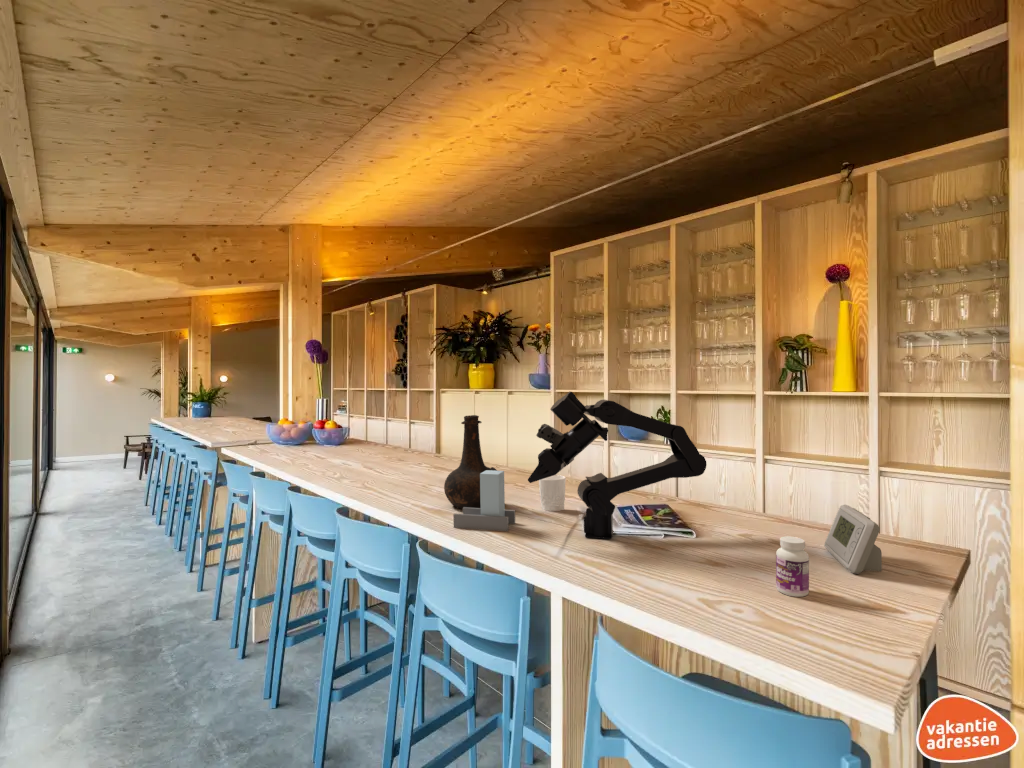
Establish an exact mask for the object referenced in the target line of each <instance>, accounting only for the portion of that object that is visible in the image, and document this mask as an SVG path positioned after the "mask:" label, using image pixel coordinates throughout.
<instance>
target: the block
mask: <svg viewBox="0 0 1024 768" xmlns="http://www.w3.org/2000/svg"><path fill="white" fill-rule="evenodd" d="M505 493H506V492H505V470H497V471H495V470H486V471H484V472H482V473H480V505H481V515H489V516H505V510H506V507H505V506H506V504H505V503H506V502H505V501H506V497H505V496H506V495H505Z"/></svg>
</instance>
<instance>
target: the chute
mask: <svg viewBox="0 0 1024 768" xmlns="http://www.w3.org/2000/svg"><path fill="white" fill-rule="evenodd" d="M510 524H511V525H515V524H516V509H505V516H489V515H481V508H470V507H464V508H463V509H462V513H453V529H470V530H482V531H495V532H497V531H498V532H508V531H509V525H510Z"/></svg>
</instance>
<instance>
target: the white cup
mask: <svg viewBox="0 0 1024 768" xmlns="http://www.w3.org/2000/svg"><path fill="white" fill-rule="evenodd" d="M566 478H567V477H566V476H564V475H561V474H556V475H554V476H550V477H547V478H544V479H541V480H538V488H539V501H540V509H541V510H542V511H545V512H559V511H564V510H565V500H566V483H567V482H566Z"/></svg>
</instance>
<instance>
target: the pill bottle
mask: <svg viewBox="0 0 1024 768" xmlns="http://www.w3.org/2000/svg"><path fill="white" fill-rule="evenodd" d="M779 545H780V547H779V548H778V549H777V550H776V552H775V588H776V589H777V591H778V592H779V593H781V594H783V595H786V596H789V597H793V598H802V597H806V596H808V595H809V592H810V556H809V554H808V552H807V551H805V548H806V541H805V540H804V539H803V538H800V537H796V536H790V535H786V536H781V537H780V538H779Z"/></svg>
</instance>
